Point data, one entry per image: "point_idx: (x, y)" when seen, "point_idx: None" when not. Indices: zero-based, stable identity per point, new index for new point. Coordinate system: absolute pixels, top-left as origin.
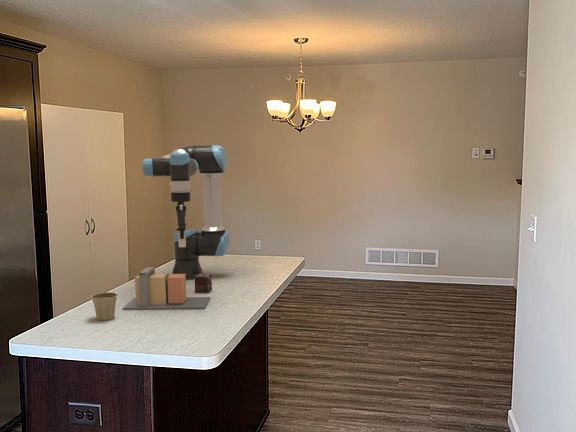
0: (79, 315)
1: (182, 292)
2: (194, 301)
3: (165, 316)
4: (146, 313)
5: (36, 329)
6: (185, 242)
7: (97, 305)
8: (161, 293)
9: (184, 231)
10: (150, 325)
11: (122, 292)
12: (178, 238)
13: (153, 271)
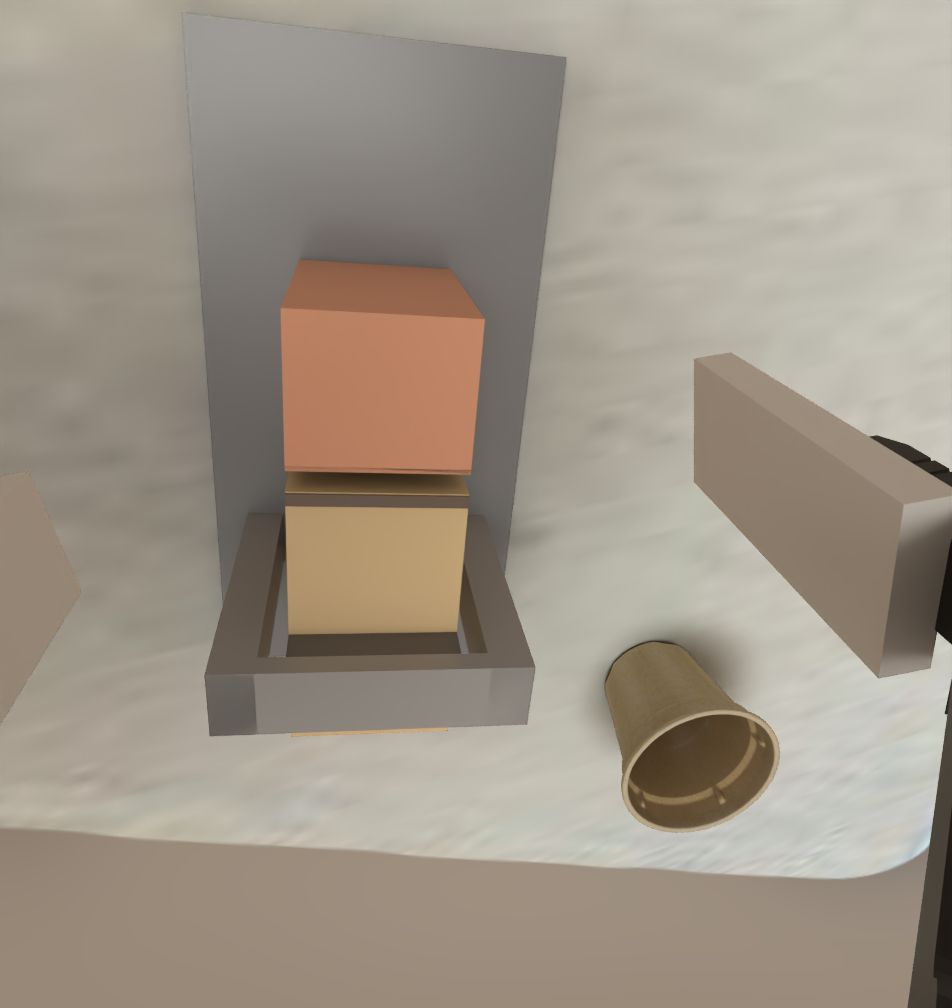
0: (569, 802)
1: (462, 288)
2: (359, 174)
3: (694, 355)
4: (596, 492)
5: (754, 867)
6: (775, 384)
7: (731, 755)
8: None
9: (933, 505)
10: (861, 411)
11: (25, 769)
12: (47, 636)
13: (258, 648)
